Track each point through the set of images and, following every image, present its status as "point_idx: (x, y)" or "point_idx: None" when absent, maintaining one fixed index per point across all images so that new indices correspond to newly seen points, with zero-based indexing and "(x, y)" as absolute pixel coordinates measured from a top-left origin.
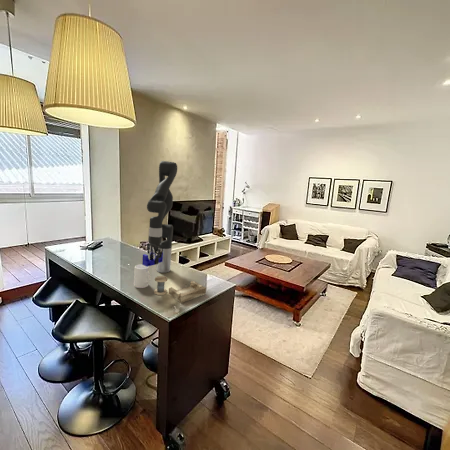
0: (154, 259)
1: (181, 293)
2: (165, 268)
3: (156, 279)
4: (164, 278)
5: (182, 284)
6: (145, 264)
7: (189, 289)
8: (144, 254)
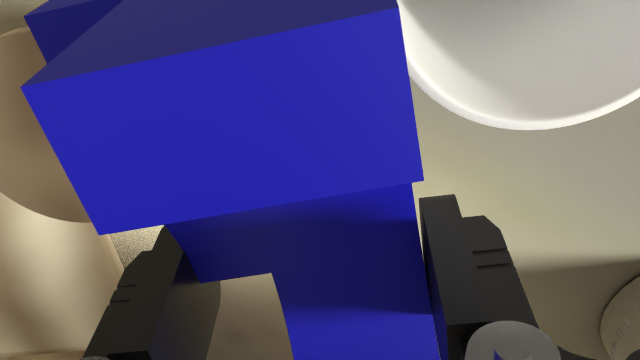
0: (388, 324)
1: (4, 218)
2: (630, 346)
3: (29, 48)
4: (46, 177)
5: (245, 312)
6: None
7: (75, 311)
8: (361, 122)
